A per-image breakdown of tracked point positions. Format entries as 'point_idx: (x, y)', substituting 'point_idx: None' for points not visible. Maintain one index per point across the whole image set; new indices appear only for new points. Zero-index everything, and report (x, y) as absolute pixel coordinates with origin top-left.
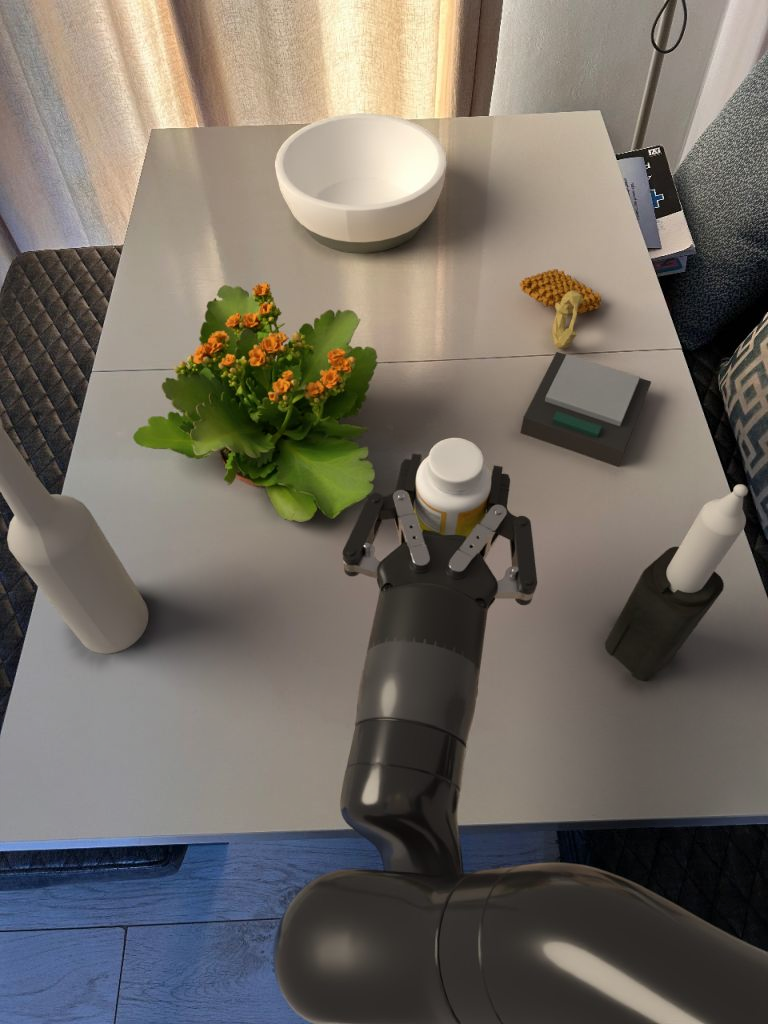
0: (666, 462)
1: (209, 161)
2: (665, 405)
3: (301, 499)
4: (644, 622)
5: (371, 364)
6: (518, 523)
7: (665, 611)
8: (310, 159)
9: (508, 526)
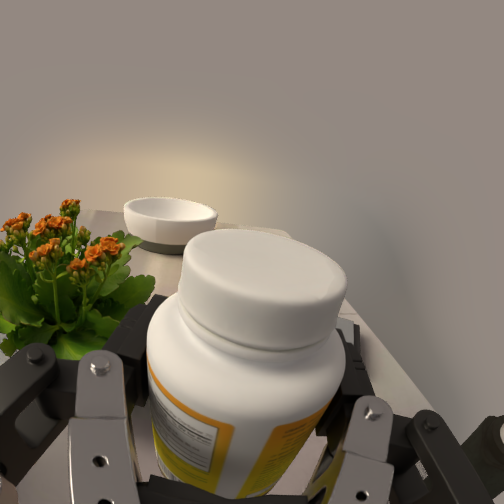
0: (382, 376)
1: (98, 216)
2: (367, 342)
3: None
4: None
5: (149, 288)
6: (425, 428)
7: (501, 480)
8: (145, 213)
9: (398, 442)
